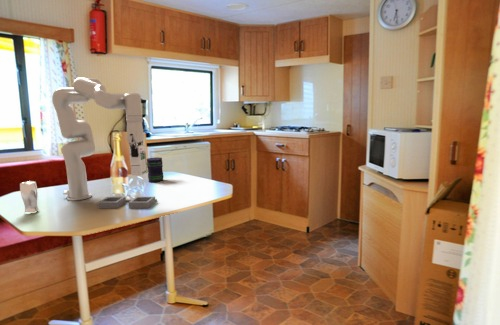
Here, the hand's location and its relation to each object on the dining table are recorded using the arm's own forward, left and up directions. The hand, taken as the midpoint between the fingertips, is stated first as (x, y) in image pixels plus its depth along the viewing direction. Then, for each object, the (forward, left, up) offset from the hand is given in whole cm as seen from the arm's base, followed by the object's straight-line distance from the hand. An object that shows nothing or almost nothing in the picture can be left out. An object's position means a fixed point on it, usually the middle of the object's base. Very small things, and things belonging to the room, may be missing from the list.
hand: (137, 155), depth 176 cm
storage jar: (-12, +53, -26) cm, 60 cm away
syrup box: (0, 0, -10) cm, 10 cm away
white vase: (-51, -12, -26) cm, 58 cm away
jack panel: (-8, +1, -26) cm, 27 cm away
